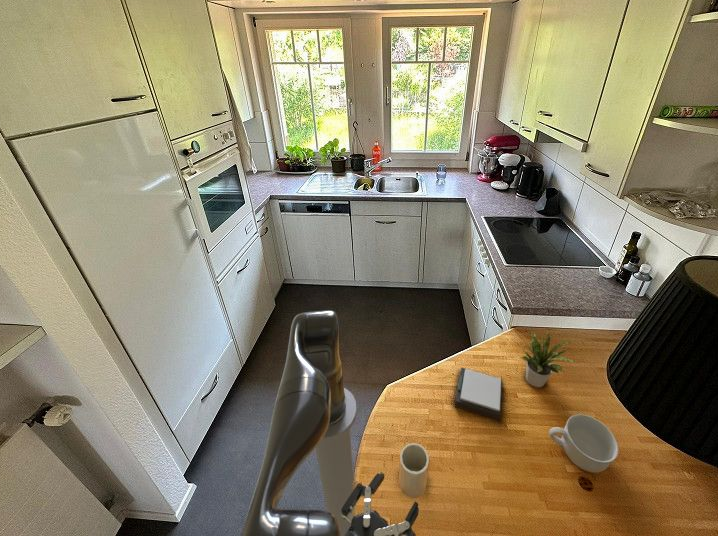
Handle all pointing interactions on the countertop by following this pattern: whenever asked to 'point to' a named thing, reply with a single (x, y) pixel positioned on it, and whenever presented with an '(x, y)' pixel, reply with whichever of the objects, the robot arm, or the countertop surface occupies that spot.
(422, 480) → the tumbler
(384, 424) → the countertop surface
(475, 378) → the scale
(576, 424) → the teacup
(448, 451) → the countertop surface
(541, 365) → the house plant
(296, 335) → the robot arm
